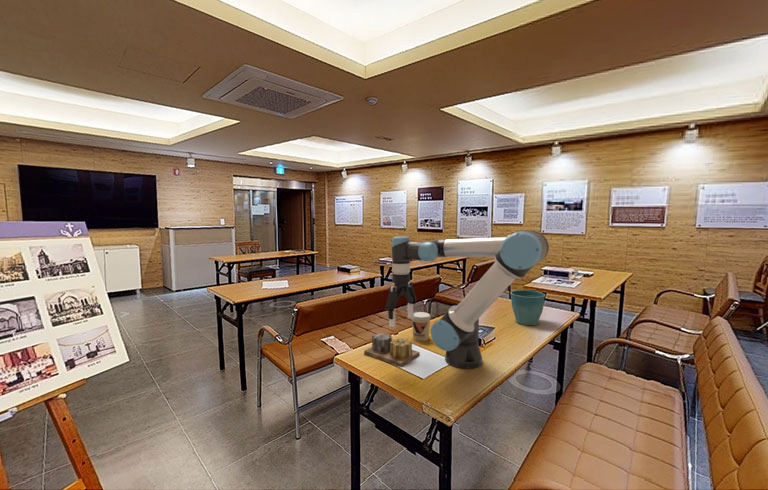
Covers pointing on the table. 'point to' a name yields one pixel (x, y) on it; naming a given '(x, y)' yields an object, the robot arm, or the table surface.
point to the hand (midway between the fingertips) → (401, 322)
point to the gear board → (387, 350)
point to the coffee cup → (421, 326)
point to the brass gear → (400, 348)
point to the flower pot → (527, 306)
